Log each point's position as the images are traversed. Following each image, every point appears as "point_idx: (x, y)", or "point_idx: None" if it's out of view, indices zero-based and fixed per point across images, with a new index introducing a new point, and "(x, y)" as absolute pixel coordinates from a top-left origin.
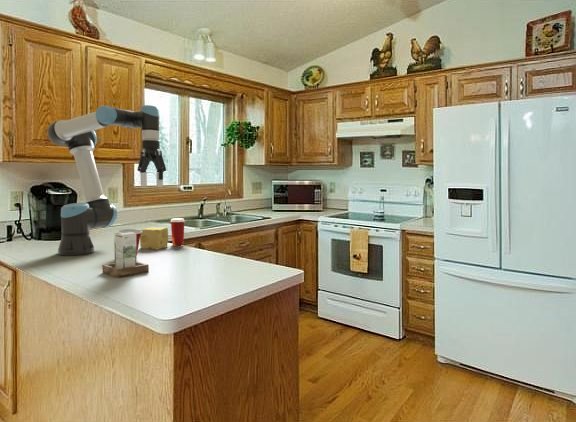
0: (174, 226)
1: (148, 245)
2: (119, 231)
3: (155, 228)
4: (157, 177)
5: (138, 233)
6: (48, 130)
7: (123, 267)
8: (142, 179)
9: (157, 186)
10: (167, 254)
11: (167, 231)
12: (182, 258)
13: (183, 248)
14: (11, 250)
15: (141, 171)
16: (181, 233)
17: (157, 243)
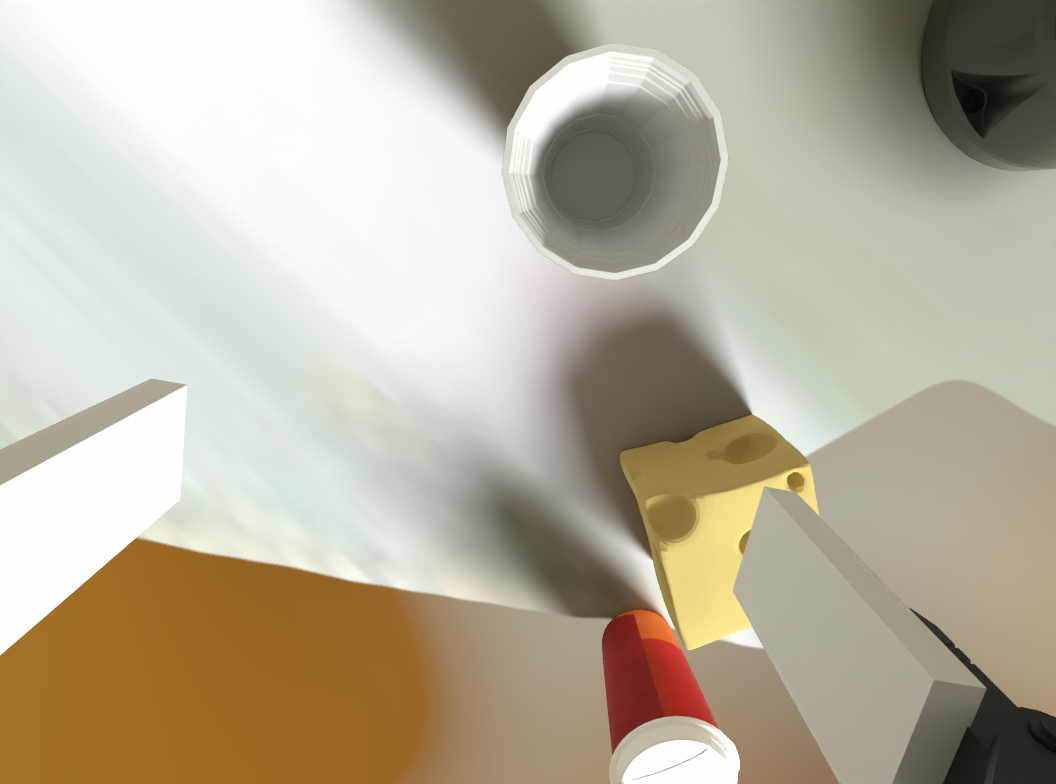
0: (653, 696)
1: (699, 439)
2: (707, 122)
3: None
4: (5, 448)
5: (503, 174)
6: None
7: None
8: (820, 585)
9: (151, 383)
10: (427, 359)
11: (675, 626)
12: (239, 314)
13: (502, 563)
14: None
15: (992, 743)
16: (607, 691)
17: (629, 464)
